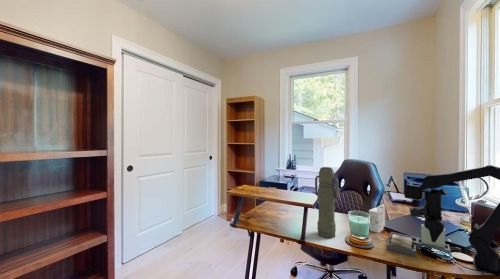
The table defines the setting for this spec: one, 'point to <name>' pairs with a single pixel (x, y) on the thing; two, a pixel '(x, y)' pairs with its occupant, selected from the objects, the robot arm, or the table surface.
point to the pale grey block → (427, 238)
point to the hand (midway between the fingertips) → (433, 238)
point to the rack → (415, 245)
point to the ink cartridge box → (377, 218)
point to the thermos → (326, 202)
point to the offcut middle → (401, 244)
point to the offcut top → (402, 239)
